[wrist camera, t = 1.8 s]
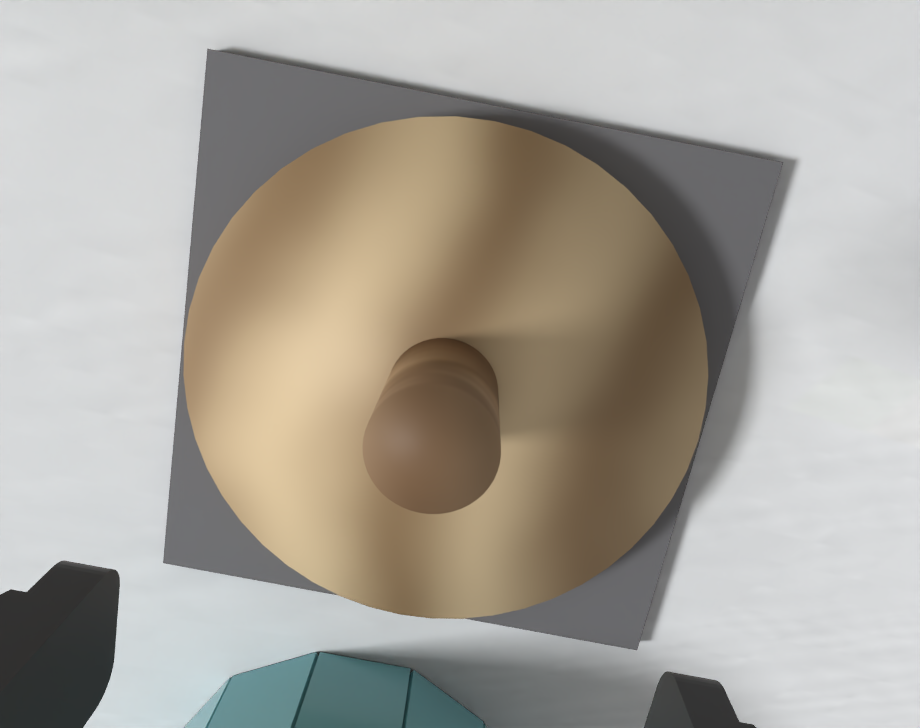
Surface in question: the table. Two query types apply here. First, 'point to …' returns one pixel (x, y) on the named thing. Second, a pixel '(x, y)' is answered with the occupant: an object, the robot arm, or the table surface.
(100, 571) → the robot arm
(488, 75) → the table surface
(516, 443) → the lid
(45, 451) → the table surface
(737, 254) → the mat
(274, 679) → the bowl
